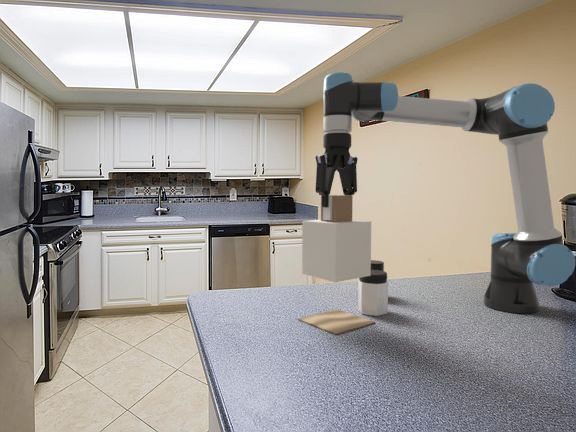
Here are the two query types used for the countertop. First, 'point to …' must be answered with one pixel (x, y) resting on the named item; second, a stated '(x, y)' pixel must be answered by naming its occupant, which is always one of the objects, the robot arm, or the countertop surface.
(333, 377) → the countertop surface
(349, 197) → the cover
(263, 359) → the countertop surface
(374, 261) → the ink bottle
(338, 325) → the plate
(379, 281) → the jar
